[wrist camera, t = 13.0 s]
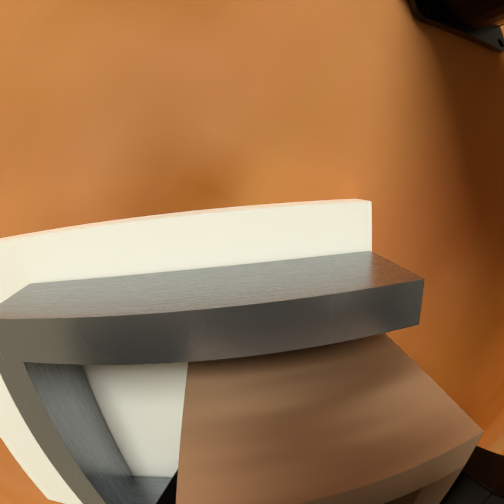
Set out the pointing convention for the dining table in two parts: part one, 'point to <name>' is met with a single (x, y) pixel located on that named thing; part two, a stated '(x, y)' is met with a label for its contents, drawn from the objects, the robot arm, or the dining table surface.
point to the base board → (153, 261)
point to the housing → (176, 341)
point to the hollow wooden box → (320, 429)
